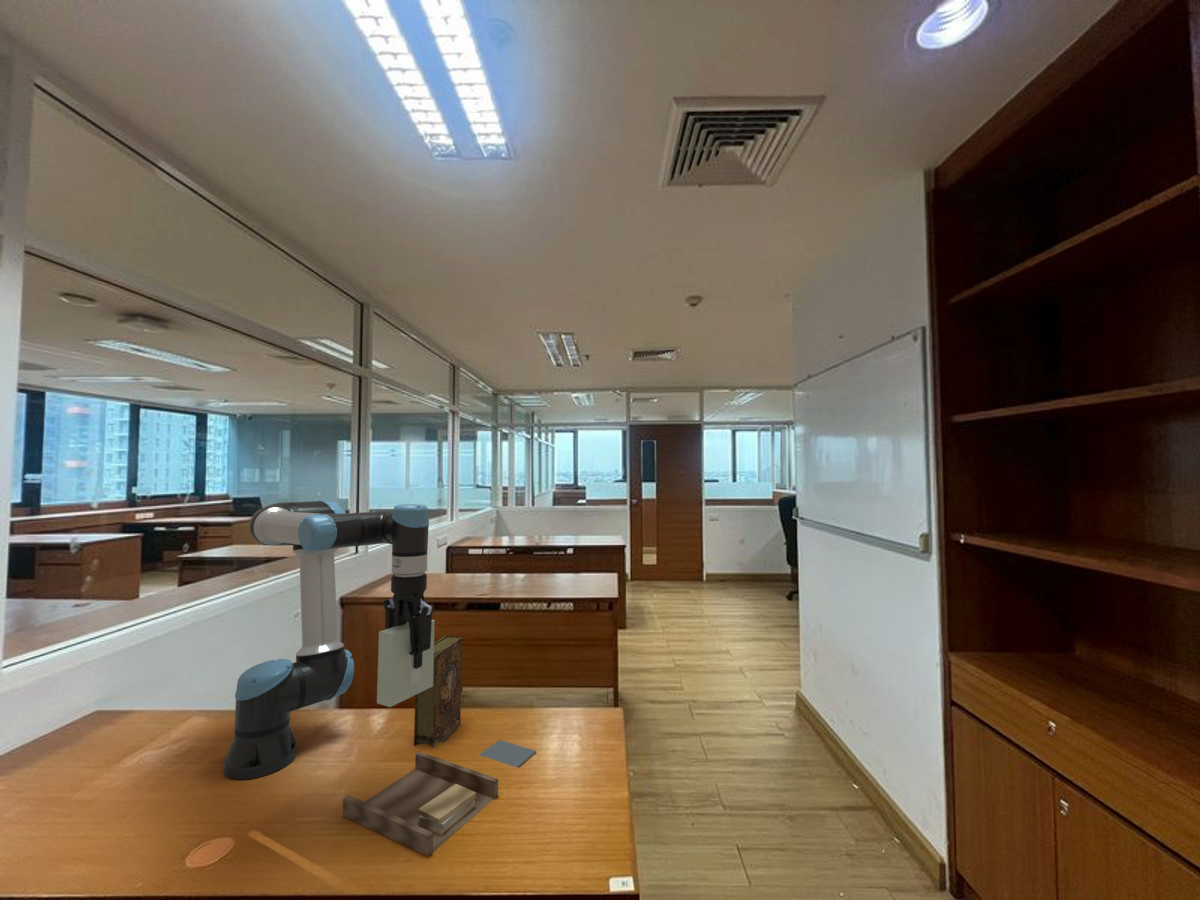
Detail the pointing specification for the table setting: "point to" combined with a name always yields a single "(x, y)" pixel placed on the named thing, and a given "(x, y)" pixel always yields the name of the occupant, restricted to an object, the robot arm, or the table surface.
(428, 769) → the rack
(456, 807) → the offcut oak
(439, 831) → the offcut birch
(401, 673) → the upright sage slab
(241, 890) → the table surface
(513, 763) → the mat
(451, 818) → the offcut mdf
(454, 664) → the book
